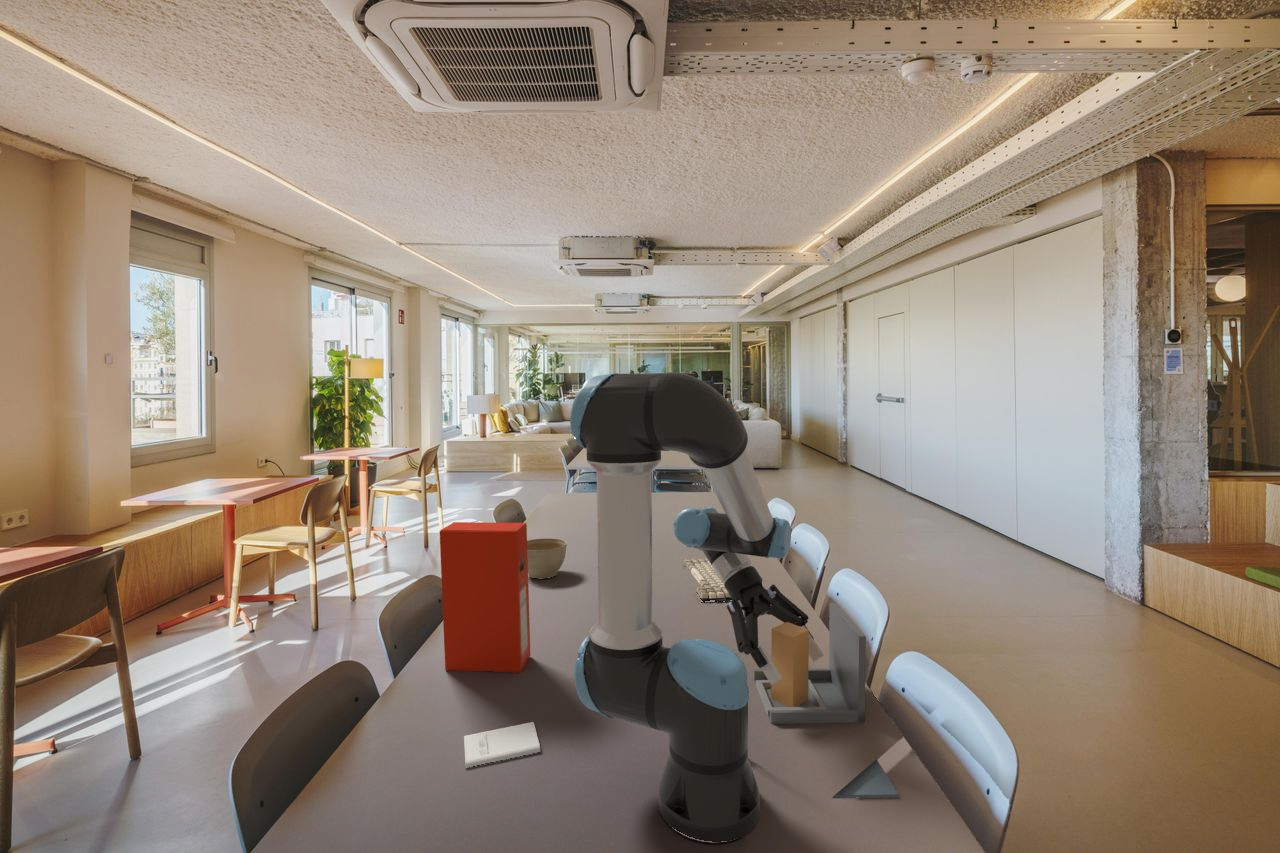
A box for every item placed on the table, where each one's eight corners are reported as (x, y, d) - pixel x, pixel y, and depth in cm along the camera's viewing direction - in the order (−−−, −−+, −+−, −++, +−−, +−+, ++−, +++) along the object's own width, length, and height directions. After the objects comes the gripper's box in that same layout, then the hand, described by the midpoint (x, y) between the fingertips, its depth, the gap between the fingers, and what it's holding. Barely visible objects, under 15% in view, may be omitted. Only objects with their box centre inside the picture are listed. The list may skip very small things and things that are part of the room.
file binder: (520, 674, 125) (516, 531, 123) (444, 671, 127) (439, 530, 125) (530, 656, 134) (526, 522, 131) (459, 654, 135) (454, 521, 133)
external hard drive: (540, 755, 98) (465, 771, 94) (533, 729, 106) (464, 742, 102) (540, 746, 98) (465, 762, 94) (533, 720, 106) (463, 734, 102)
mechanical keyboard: (674, 566, 202) (674, 557, 202) (726, 563, 205) (726, 554, 204) (701, 606, 165) (701, 595, 164) (764, 602, 168) (764, 591, 167)
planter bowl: (577, 574, 192) (576, 542, 192) (538, 587, 181) (537, 553, 180) (548, 565, 204) (547, 535, 203) (509, 576, 192) (508, 544, 191)
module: (793, 709, 108) (793, 637, 107) (771, 698, 111) (771, 628, 111) (808, 699, 111) (808, 629, 110) (786, 689, 115) (786, 621, 114)
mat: (833, 798, 86) (833, 795, 86) (813, 755, 96) (813, 753, 96) (898, 797, 86) (898, 794, 86) (872, 755, 96) (872, 752, 96)
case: (771, 731, 103) (771, 637, 102) (753, 685, 119) (753, 604, 118) (869, 730, 103) (870, 636, 102) (838, 684, 119) (839, 602, 118)
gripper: (764, 570, 130) (822, 657, 120) (687, 597, 114) (746, 700, 104) (784, 553, 126) (845, 641, 115) (706, 578, 110) (769, 684, 99)
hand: (798, 669), depth 109 cm, fingers open, 13 cm apart
